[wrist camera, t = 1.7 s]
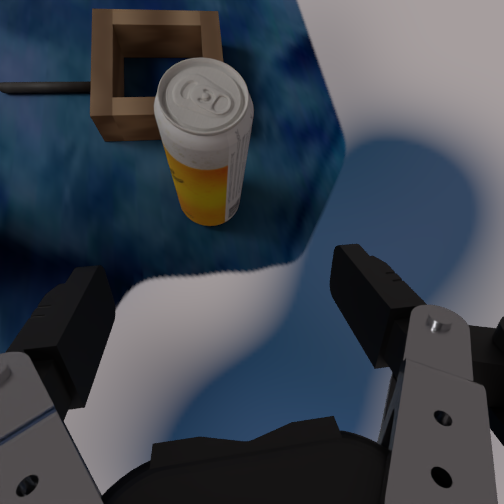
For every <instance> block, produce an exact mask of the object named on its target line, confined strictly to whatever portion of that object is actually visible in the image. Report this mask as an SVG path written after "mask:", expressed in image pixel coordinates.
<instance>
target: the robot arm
mask: <svg viewBox="0 0 504 504" xmlns="http://www.w3.org/2000/svg"><path fill="white" fill-rule="evenodd" d="M330 291H331V295H332V297H333V299H334V301H335V303H336V304H337V306H338V308H339V309H340V311H341V313H342V314H343V316H344V318H345V319H346V321H347V323H348V324H349V326H350V328H351V329H352V331H353V333H354V335H355V336H356V338H357V339H358V341H359V343H360V345H361V346H362V348H363V350H364V351H365V353H366V355H367V356H368V358H369V360H370V361H371V363H372V365H373V366H374V368H375V369H376V368H382V367H383V368H384V367H390V369H391V370H392V376H391V379H390V384H389V389H388V394H387V399H386V404H385V409H384V414H383V419H382V424H381V429H380V434H379V437H378V441H377V442H374V441H372V440H370V439H368V438H366V437H363V436H361V435H357V434H354V433H350V432H346V431H340V430H339V428H338V426H337V423H336V421H335V418H334V416H330V417H324V418H317V419H311V420H304V421H298V422H291V423H289V424H287V425H285V426H283V427H280V428H278V429H276V430H274V431H271V432H270V433H267V434H265V435H263V436H260V437H258V438H256V439H254V440H251V441H235V440H226V439H217V438H207V437H194V438H188V439H181V440H175V441H168V442H162V443H155V444H153V446H152V454H151V460H150V461H148V462H146V463H144V464H142V465H140V466H139V467H137V468H135V469H133V470H132V471H130V472H129V473H127V474H126V475H125V476H123V477H122V478H121V479H119V480H118V481H117V482H116V483H115V484H114V485H113V486H111V487H110V488H109V489H108V490H107V491H106V492H105V493H104V494H103V495H101V493H100V491H99V489H98V487H97V485H96V484H95V481H94V480H93V478H92V476H91V474H90V472H89V470H88V468H87V466H86V464H85V462H84V460H83V458H82V456H81V454H80V453H79V450H78V448H77V446H76V445H75V443H74V441H73V439H72V437H71V435H70V433H69V431H68V429H67V427H66V425H65V423H64V419H65V416H66V414H67V411H68V410H69V409H76V408H84V407H85V405H86V402H87V399H88V396H89V393H90V390H91V387H92V384H93V382H94V379H95V376H96V373H97V370H98V367H99V364H100V361H101V358H102V355H103V352H104V349H105V346H106V344H107V341H108V338H109V335H110V332H111V329H112V326H113V323H114V320H115V303H114V300H113V296H112V293H111V290H110V286H109V283H108V280H107V276H106V273H105V270H104V268H103V267H102V266H101V265H99V266H87V267H77V268H75V269H74V270H73V272H72V274H71V275H70V277H69V278H68V280H67V281H66V283H65V284H59V285H58V286H56V287H55V288H54V289H52V290H51V291H50V292H48V293H47V294H46V295H45V296H44V298H43V299H42V301H41V302H40V303H39V305H38V308H37V309H35V311H34V312H33V314H32V315H31V318H30V319H28V321H27V322H26V324H25V325H24V327H23V328H22V329H21V331H20V332H19V334H18V335H17V337H16V338H15V340H14V341H13V342H12V344H11V345H10V347H9V348H8V350H7V351H6V353H3V354H0V504H498V501H497V492H496V483H495V473H494V464H493V454H492V445H491V435H490V429H491V430H492V431H493V433H494V434H495V435H496V437H497V438H498V439H499V441H500V442H501V443H502V445H503V446H504V317H502V319H501V320H500V322H499V324H498V326H497V328H488V327H479V326H471V325H468V324H467V323H466V321H465V320H464V319H463V318H462V317H460V316H459V315H458V314H456V313H455V312H453V311H451V310H448V309H446V308H443V307H440V306H435V305H427V304H426V303H425V302H424V301H423V300H422V299H421V298H420V297H419V296H418V295H417V294H416V293H415V292H414V291H413V290H412V289H411V288H410V287H409V286H408V285H407V284H406V283H405V282H404V281H402V279H401V278H400V277H399V276H398V275H397V274H396V273H395V272H394V271H393V270H392V269H391V267H390V266H388V265H387V263H385V262H383V261H382V260H380V259H378V258H376V257H374V256H369V255H368V254H367V253H366V252H365V251H364V249H363V248H362V247H361V246H360V245H359V244H349V245H338V246H336V247H335V249H334V255H333V261H332V268H331V276H330Z"/></svg>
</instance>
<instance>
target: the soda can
mask: <svg viewBox="0 0 504 504" xmlns="http://www.w3.org/2000/svg"><path fill="white" fill-rule="evenodd" d="M154 114H155V118H156V121H157V125H158V128H159V132H160V135H161V139H162V142H163V146H164V149H165V153H166V156H167V160H168V163H169V167H170V170H171V174H172V177H173V181H174V184H175V188H176V191H177V195H178V198H179V202H180V205H181V208H182V210H183V212H184V213H185V215H186V216H187V217H188V218H189V219H191V220H192V221H194V222H196V223H198V224H200V225H205V226H215V225H219V224H222V223H224V222H226V221H228V220H229V219H230V218H232V217H233V215H234V214H235V213H236V211H237V209H238V207H239V202H240V196H241V190H242V184H243V177H244V171H245V165H246V159H247V153H248V146H249V140H250V134H251V128H252V121H253V114H254V109H253V102H252V99H251V97H250V95H249V92H248V88H247V85H246V83H245V81H244V79H243V78H242V76H241V75H240V74H239V73H238V72H237V71H236V70H235V69H233V68H232V67H231V66H229V65H228V64H226V63H224V62H221V61H219V60H215V59H211V58H191V59H186V60H183V61H181V62H178V63H177V64H175V65H173V66H172V67H170V68H169V69H168V70H167V71H166V72H165V73H164V75H163V76H162V78H161V80H160V82H159V85H158V90H157V94H156V97H155V101H154Z"/></svg>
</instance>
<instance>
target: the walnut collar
mask: <svg viewBox="0 0 504 504" xmlns="http://www.w3.org/2000/svg"><path fill="white" fill-rule="evenodd" d="M124 57H141V58H211V59H215V60H219V61H221V62H223V54H222V45H221V35H220V26H219V17H218V11H174V10H124V9H92V51H91V82H2V83H0V91H1V92H3V93H57V92H91V96H90V117H91V118H92V120H93V122H94V123H95V125H96V127H97V129H98V130H99V132H100V134H101V136H102V137H103V139H104V141H135V140H162V139H161V135H160V132H159V128H158V125H157V121H156V118H155V114H154V101H155V97H124Z"/></svg>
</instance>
